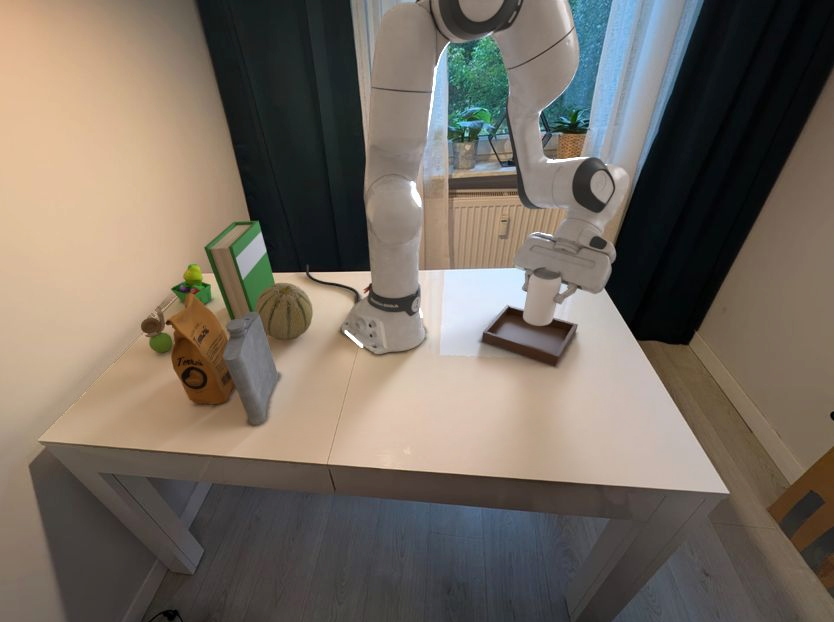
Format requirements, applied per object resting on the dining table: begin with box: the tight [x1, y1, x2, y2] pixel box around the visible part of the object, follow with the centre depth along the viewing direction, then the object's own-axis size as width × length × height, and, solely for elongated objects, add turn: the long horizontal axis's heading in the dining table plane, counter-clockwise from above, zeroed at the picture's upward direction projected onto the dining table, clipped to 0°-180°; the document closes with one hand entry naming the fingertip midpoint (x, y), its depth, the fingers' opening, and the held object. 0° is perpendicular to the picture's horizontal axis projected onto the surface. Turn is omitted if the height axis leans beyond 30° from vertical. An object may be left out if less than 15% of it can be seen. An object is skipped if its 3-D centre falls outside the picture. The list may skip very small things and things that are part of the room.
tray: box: [481, 304, 579, 367], centre depth 92 cm, size 18×15×3 cm
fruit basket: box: [170, 263, 212, 305], centre depth 119 cm, size 11×9×11 cm
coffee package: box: [165, 293, 236, 405], centre depth 81 cm, size 10×12×22 cm
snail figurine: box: [140, 305, 174, 354], centre depth 98 cm, size 5×6×12 cm
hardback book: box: [203, 220, 276, 321], centre depth 106 cm, size 18×7×24 cm, turn 172°
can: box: [523, 267, 562, 326], centre depth 85 cm, size 6×6×12 cm
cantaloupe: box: [255, 282, 314, 341], centre depth 98 cm, size 15×15×15 cm
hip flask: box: [223, 312, 280, 426], centre depth 78 cm, size 16×4×20 cm, turn 178°
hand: (540, 296), depth 85 cm, fingers closed on can, 6 cm apart
